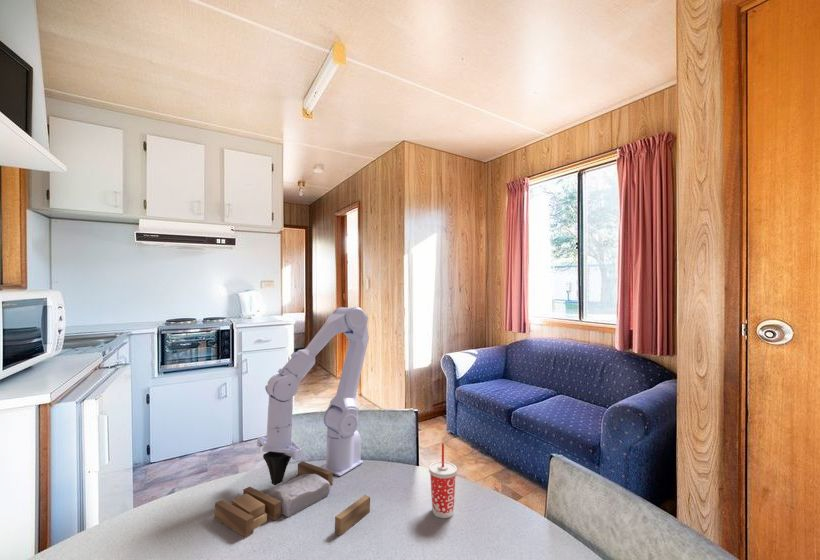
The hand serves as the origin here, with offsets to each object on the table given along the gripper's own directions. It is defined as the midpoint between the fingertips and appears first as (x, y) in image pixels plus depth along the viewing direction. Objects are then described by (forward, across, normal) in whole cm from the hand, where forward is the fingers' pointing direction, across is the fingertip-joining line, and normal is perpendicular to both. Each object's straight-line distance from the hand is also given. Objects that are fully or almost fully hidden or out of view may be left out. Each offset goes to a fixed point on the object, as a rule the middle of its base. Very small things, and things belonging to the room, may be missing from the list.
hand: (277, 482), depth 79 cm
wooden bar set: (+1, +12, -3) cm, 13 cm away
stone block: (+2, +8, 0) cm, 8 cm away
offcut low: (+2, +5, -11) cm, 12 cm away
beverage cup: (+1, +38, +13) cm, 40 cm away
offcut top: (0, +5, -11) cm, 12 cm away
